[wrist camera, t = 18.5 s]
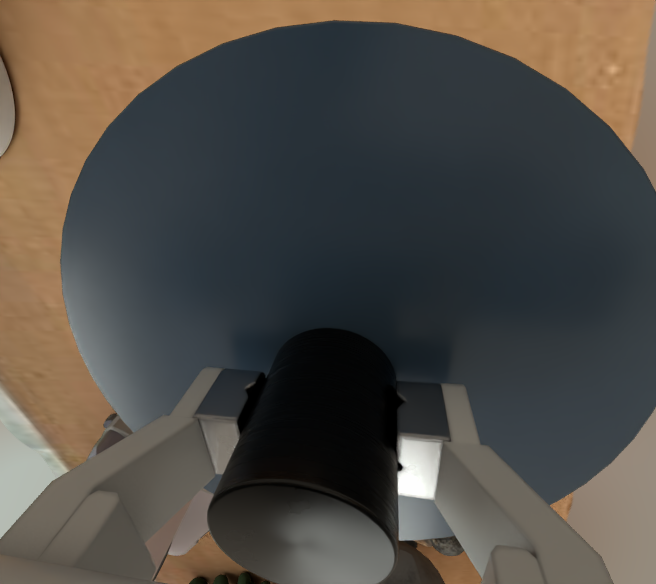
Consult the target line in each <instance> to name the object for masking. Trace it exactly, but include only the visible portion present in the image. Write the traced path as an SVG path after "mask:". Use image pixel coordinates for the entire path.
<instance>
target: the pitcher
mask: <svg viewBox="0 0 656 584" xmlns="http://www.w3.org/2000/svg"><path fill="white" fill-rule="evenodd" d="M416 548H417V542H415V541H413V540H408V541H399V558H398V561H397V565H396V567H395V569H394V571H393V572H392V574H391V575H390V576H389V577H388V578H387V579H386V580H384V581H383V582H381V583H380V584H445V583H444V581H443V579H442V577H441V575H440V574H439V572H438V570H437V569H436V568H435V566H434V565H433V564H432V563H431V561H430V560H429V559H428V558H427V557H425V556H424V555H423V554H422V553H421V552H419V551H418V550H417V549H416Z"/></svg>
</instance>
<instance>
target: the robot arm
mask: <svg viewBox="0 0 656 584" xmlns="http://www.w3.org/2000/svg"><path fill="white" fill-rule="evenodd" d="M14 125H15V106H14V98H13V93H12V88H11V84H10V80H9V77H8V74H7V71H6V68H5V66H4V63H3V61H2V58H1V56H0V157H1V156H2V155H3V154H4V152H5V151H6V150H7V148H8V146H9V144H10V142H11V139H12V136H13V132H14ZM265 380H266V374H265V373H264V372H260V371H249V370H239V369H228V368H225V369H223V368H213V367H206V368H204V369H203V370H202V371H201V372H200V373H199V375H198V376H197V377H196V379H195V380H194V382H193V383H192V384H191V386H190V387H189V389H188V390H187V392H186V393H185V394H184V396H183V397H182V399H181V400H180V401H179V403H178V404H177V406H176V407H175V408H174V410H173V411H172V413H171V414H170V415H169V416H168V415H163V416H161V417H160V418H158V419H156V420H155V421H153V422H151V423H149V424H148V425H146V426H144V427H143V428H141V429H139V430H138V431H136V432H134V433H133V434H131V435H129V436H128V437H126V438H124V439H123V440H121V441H119V442H117V443H116V444H114V445H112V446H111V447H109V448H107V449H106V450H104V451H102V452H101V453H99V454H97V455H96V456H94V457H92V458H91V459H89V460H87V461H86V462H84V463H82V464H80V465H79V466H77V467H75V468H74V469H72V470H70V471H69V472H67V473H65V474H64V475H62V476H60V477H59V478H57V479H55V480H54V481H52V482H51V483H50V484H49V485H48V486H47V487H46V489H45V490H44V491H43V492H42V493H41V494H40V495H39V496H38V498H37V499H36V500H35V501H34V502H33V503H32V504H31V506H29V508H28V509H27V510H26V511H25V512H24V513H23V514H22V515H21V517H20V518H19V519H18V520H17V521H16V522H15V523H14V524H13V525H12V527H11V528H10V529H9V530H8V531H7V532H6V533H5V534H4V536H3V537H2V538H1V539H0V584H166V583H160V582H155V581H151V579H152V577H153V575H154V573H155V571H156V565H155V561H154V559H153V558H152V556H151V554H150V552H149V550H148V548H147V546H146V545H145V543H146V542H147V541H148V540H149V539H150V538H151V537H152V536H153V535H154V534H155V533H156V532H157V531H158V530H159V529H160V528H161V527H162V526H163V525H164V524H166V523H167V522H168V521H169V520H170V519H171V518H172V517H173V516H174V515H175V514H176V513H177V512H178V511H179V510H180V509H181V508H182V507H183V506H184V505H186V504H187V503H188V502H189V501H190V500H191V499H192V498H193V497H194V496H195V495H196V494H197V493H198V492H199V491H200V490H201V489H202V488H203V487H204V486H206V485H207V484H208V483H209V482H210V481H211V480H212V479H213V478H214V477H215V474H222V475H223V473H224V471H225V468H226V466H227V464H228V462H229V460H230V457H231V455H232V453H233V451H234V448H235V446H236V444H237V442H238V440H239V437H240V435H241V433H242V431H243V429H244V426H245V424H246V422H247V420H248V417H249V415H250V413H251V411H252V409H253V406H254V404H255V402H256V400H257V398H258V395H259V393H260V391H261V389H262V386H263V384H264V382H265ZM395 405H396V456H397V461H398V495H403V496H410V497H416V498H423V499H430V500H435V504H436V506H437V507H438V509H439V510H440V512H441V514H442V515H443V517H444V518H445V520H446V522H447V523H448V525H449V526H450V528H451V530H452V531H453V533H454V534H455V536H456V538H457V539H458V541H459V543H460V544H461V546H462V547H463V549H464V551H465V552H466V554H467V555H468V557H469V559H470V560H471V562H472V563H473V565H474V567H475V568H476V570H477V571H478V573H479V575H480V576H481V578H482V582H481V584H614V583H613V581H612V579H611V577H610V574H609V572H608V570H607V568H606V566H605V564H604V561H603V559H602V557H601V556H600V555H599V554H598V553H597V552H596V551H595V550H594V549H593V548H592V547H591V546H590V545H589V544H588V543H587V542H586V541H585V540H584V539H583V538H582V537H581V536H580V535H579V534H578V533H577V532H576V531H575V530H574V529H572V527H571V526H570V525H569V524H568V523H567V522H566V521H565V520H564V519H563V518H562V517H560V516H559V515H558V514H557V513H556V512H555V511H554V510H553V509H552V508H551V507H550V506H549V505H548V504H547V503H546V502H545V501H544V500H543V499H542V498H541V497H540V496H539V495H538V494H537V493H536V492H535V491H534V490H533V489H532V488H531V487H530V486H529V485H528V484H527V483H526V482H525V481H524V480H523V479H522V478H521V477H520V476H519V475H518V474H517V473H516V472H515V471H514V470H513V469H512V468H511V467H510V466H509V465H508V464H507V463H506V462H505V461H504V460H502V459H501V458H500V457H499V456H498V455H497V454H496V453H495V452H494V451H493V450H492V449H491V448H490V447H489V446H487V445H481V444H480V440H479V436H478V433H477V429H476V425H475V421H474V417H473V414H472V410H471V406H470V402H469V399H468V395H467V391H466V387H465V386H464V385H463V384H446V383H440V384H439V383H423V382H407V381H396V388H395Z"/></svg>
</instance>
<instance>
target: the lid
mask: <svg viewBox="0 0 656 584" xmlns="http://www.w3.org/2000/svg"><path fill="white" fill-rule="evenodd" d="M60 264H61V278H62V291H63V297H64V302H65V306H66V311H67V316H68V320H69V324H70V327H71V330H72V333H73V335H74V338H75V341H76V344H77V347H78V349H79V352H80V354H81V356H82V358H83V360H84V362H85V364H86V366H87V368H88V370H89V372H90V374H91V376H92V378H93V380H94V381H95V383H96V384H97V386H98V387H99V389H100V390H101V392H102V394H103V395H104V397H105V398H106V400H107V401H108V403H109V404H110V405H111V406H112V408H113V409H114V410H115V411H116V413H117V414H118V415H119V417H120V418H121V419H122V420H123V422H124V423H125V424H126V425H127V426H128V427H129V428H130V429H131V430H132V431H133V432H136V431H138V430H139V429H141V428H143V427H144V426H146V425H148V424H149V423H151V422H153V421H155V420H156V419H158V418H160V417H161V416H163V415H168V416H169V415H170V414H171V413H172V411H173V410H174V408H175V407H176V406H177V404H178V403H179V401H180V400H181V399H182V397H183V396H184V394H185V393H186V392H187V390H188V389H189V387H190V386H191V384H192V383H193V382H194V380H195V379H196V377H197V376H198V375H199V373H200V372H201V371H202V370H203V369H204V368H206V367H213V368H223V369H225V368H228V369H239V370H249V371H260V372H264V373H265V374H266V380H265V382H264V384H263V386H262V389H261V391H260V393H259V395H258V398H257V400H256V402H255V404H254V406H253V409H252V411H251V413H250V415H249V417H248V420H247V422H246V424H245V426H244V429H243V431H242V433H241V435H240V437H239V440H238V442H237V444H236V446H235V448H234V451H233V453H232V455H231V457H230V460H229V462H228V464H227V466H226V468H225V471H224V473H223V475H222V474H215V477H214V478H213V479H212V480H211V481H210V482H209V483H208V484H207V485H206V486H204V487H203V488H204V489H206V490H207V491H209V492H211V493H213V494H214V495H213V497H212V499H211V502H210V504H209V507H208V511H207V524H208V529H209V531H210V534H211V536H212V538H213V539H214V541H215V542H216V544H217V545H218V546H219V548H220V549H221V550H222V551H223V552H224V553H225V554H226V555H227V556H229V557H230V558H231V559H232V560H233V561H235V562H236V563H238V564H239V565H240V566H242V567H244V568H245V569H247V570H249V571H250V572H252V573H254V574H256V575H258V576H260V577H262V578H265V579H267V580H269V581H272V582H274V583H277V584H380V583H381V582H383V581H384V580H386V579H387V578H388V577H389V576H390V575H391V574H392V572H393V571H394V569H395V567H396V565H397V561H398V558H399V541H408V540H425V539H436V538H446V537H451V536H455V534H454V533H453V531H452V530H451V528H450V526H449V525H448V523H447V522H446V520H445V518H444V517H443V515H442V514H441V512H440V510H439V509H438V507H437V506H436V504H435V500H430V499H423V498H416V497H410V496H403V495H398V461H397V456H396V405H395V388H396V381H407V382H423V383H439V384H440V383H446V384H463V385H464V386H465V387H466V391H467V395H468V399H469V402H470V406H471V410H472V414H473V417H474V421H475V425H476V429H477V433H478V436H479V440H480V444H481V445H487V446H489V447H490V448H491V449H492V450H493V451H494V452H495V453H496V454H497V455H498V456H499V457H500V458H501V459H502V460H504V461H505V462H506V463H507V464H508V465H509V466H510V467H511V468H512V469H513V470H514V471H515V472H516V473H517V474H518V475H519V476H520V477H521V478H522V479H523V480H524V481H525V482H526V483H527V484H528V485H529V486H530V487H531V488H532V489H533V490H534V491H535V492H536V493H537V494H538V495H539V496H540V497H541V498H542V499H543V500H544V501H545V502H546V503H547V504H548V505H551V504H553V503H555V502H557V501H559V500H560V499H562V498H564V497H565V496H567V495H568V494H570V493H572V492H573V491H575V490H576V489H578V488H579V487H581V486H583V485H584V484H586V483H587V482H588V481H589V480H591V479H592V478H593V477H594V476H596V475H597V474H598V473H599V472H600V471H602V470H603V469H604V468H605V467H607V466H608V465H609V464H610V463H611V462H612V461H613V460H614V459H615V458H616V457H617V456H618V455H619V454H620V453H621V452H622V451H623V450H624V449H625V448H626V447H627V446H628V444H630V442H631V441H632V440H633V439H634V438H635V437H636V435H637V434H638V432H639V431H640V430H641V428H642V427H643V425H644V424H645V422H646V421H647V420H648V418H649V417H650V415H651V414H652V412H653V411H654V409H655V407H656V191H655V189H654V188H653V186H652V184H651V182H650V180H649V178H648V176H647V174H646V173H645V171H644V169H643V168H642V166H641V165H640V164H639V162H638V161H637V160H636V159H635V158H634V156H633V155H632V154H631V152H630V151H629V150H628V149H627V147H626V146H625V145H624V144H623V142H622V141H621V140H620V139H619V137H618V136H617V135H616V134H615V132H614V131H613V130H612V129H611V127H610V126H609V125H607V124H606V123H605V122H604V121H603V120H602V119H600V118H599V117H598V116H597V115H596V114H595V113H594V112H592V111H591V110H590V109H589V108H588V107H587V106H585V105H584V104H583V103H582V102H581V101H580V100H579V99H577V98H576V97H575V96H574V95H573V94H572V93H570V92H569V91H568V90H567V89H566V88H564V87H562V86H561V85H559V84H557V83H556V82H554V81H552V80H551V79H549V78H547V77H545V76H544V75H542V74H540V73H539V72H537V71H535V70H534V69H532V68H530V67H529V66H527V65H525V64H524V63H522V62H520V61H519V60H517V59H515V58H513V57H511V56H508V55H505V54H503V53H500V52H498V51H495V50H493V49H490V48H487V47H485V46H482V45H480V44H477V43H475V42H472V41H469V40H467V39H464V38H462V37H459V36H456V35H452V34H447V33H442V32H437V31H432V30H427V29H423V28H418V27H413V26H408V25H403V24H399V23H387V22H362V21H338V20H333V21H325V22H317V23H309V24H301V25H292V26H284V27H276V28H273V29H269V30H266V31H263V32H259V33H256V34H253V35H249V36H246V37H242V38H239V39H236V40H232V41H229V42H226V43H223V44H221V45H219V46H216V47H214V48H212V49H210V50H208V51H206V52H204V53H202V54H200V55H198V56H196V57H194V58H192V59H190V60H188V61H186V62H184V63H182V64H180V65H178V66H176V67H175V68H174V69H172V70H171V71H170V72H168V73H167V74H165V75H164V76H163V77H161V78H160V79H159V80H157V81H156V82H155V83H153V84H152V85H150V86H149V87H148V88H146V89H145V90H144V91H142V92H141V93H140V94H138V95H137V96H136V98H135V99H134V100H133V101H132V102H131V103H130V104H129V105H128V106H127V107H126V108H125V109H124V110H123V111H122V112H121V113H120V114H119V115H118V116H117V118H116V119H115V120H114V121H113V122H112V123H111V124H110V125H109V126H108V127H107V129H106V130H105V132H104V133H103V135H102V136H101V138H100V139H99V141H98V142H97V144H96V146H95V147H94V149H93V150H92V152H91V153H90V155H89V156H88V158H87V159H86V161H85V163H84V166H83V168H82V170H81V173H80V175H79V177H78V180H77V182H76V184H75V187H74V189H73V191H72V194H71V197H70V201H69V205H68V209H67V213H66V218H65V222H64V226H63V233H62V246H61V259H60Z"/></svg>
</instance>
